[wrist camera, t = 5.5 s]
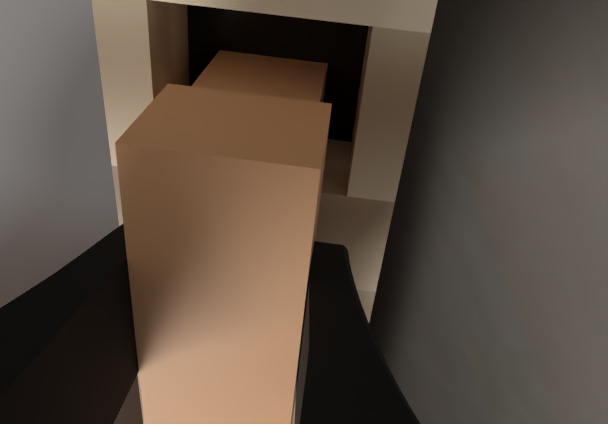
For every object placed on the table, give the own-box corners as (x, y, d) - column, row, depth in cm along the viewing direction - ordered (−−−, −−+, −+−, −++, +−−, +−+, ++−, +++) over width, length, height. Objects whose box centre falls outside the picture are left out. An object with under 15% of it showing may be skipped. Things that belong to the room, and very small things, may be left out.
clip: (307, 315, 17) (283, 488, 12) (209, 302, 17) (149, 468, 12) (340, 53, 13) (320, 169, 8) (208, 38, 13) (114, 142, 8)
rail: (337, 426, 20) (332, 495, 18) (171, 402, 20) (149, 467, 18) (489, -350, 9) (523, -406, 7) (114, -384, 9) (36, -449, 7)
